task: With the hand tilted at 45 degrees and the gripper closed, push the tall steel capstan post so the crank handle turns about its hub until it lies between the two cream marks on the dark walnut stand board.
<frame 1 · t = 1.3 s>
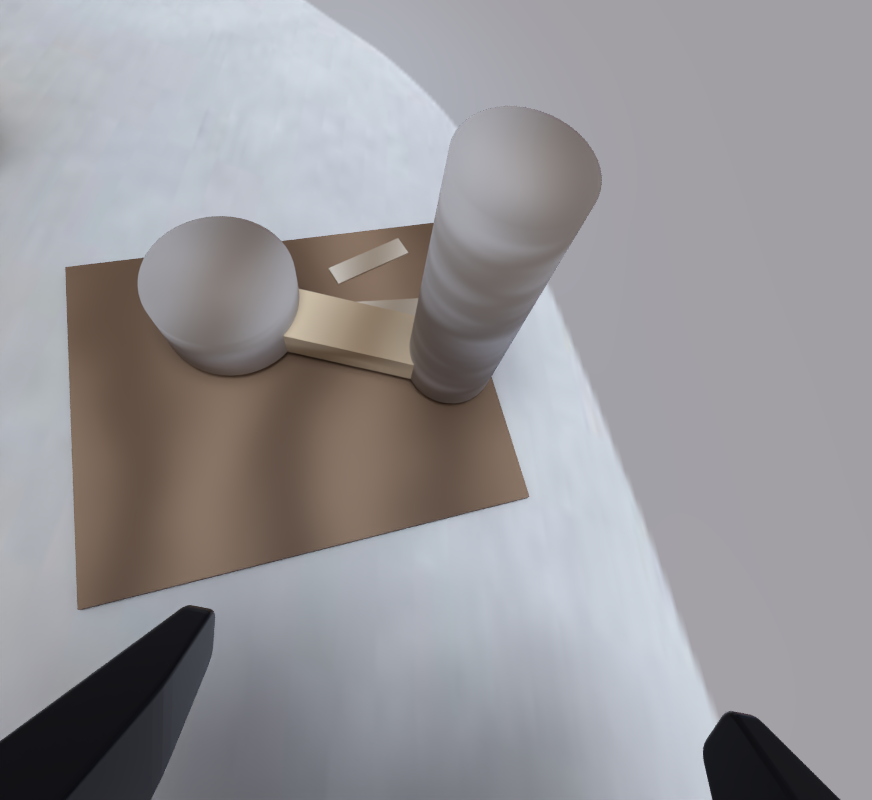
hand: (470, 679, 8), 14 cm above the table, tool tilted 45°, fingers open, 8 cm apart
stand board: (294, 382, 24), on the table
crank handle: (325, 257, 18), point 7 cm above the table, hinge at 0.0°
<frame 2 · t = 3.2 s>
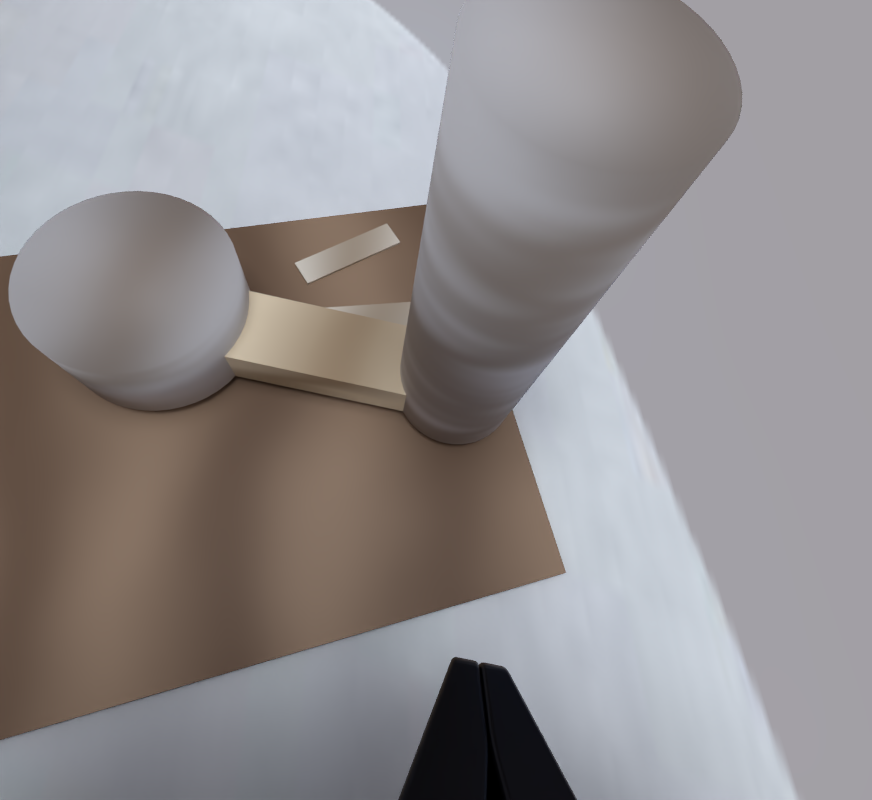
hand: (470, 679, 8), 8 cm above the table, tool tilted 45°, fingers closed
stand board: (245, 417, 17), on the table
crank handle: (268, 244, 12), point 7 cm above the table, hinge at 0.0°
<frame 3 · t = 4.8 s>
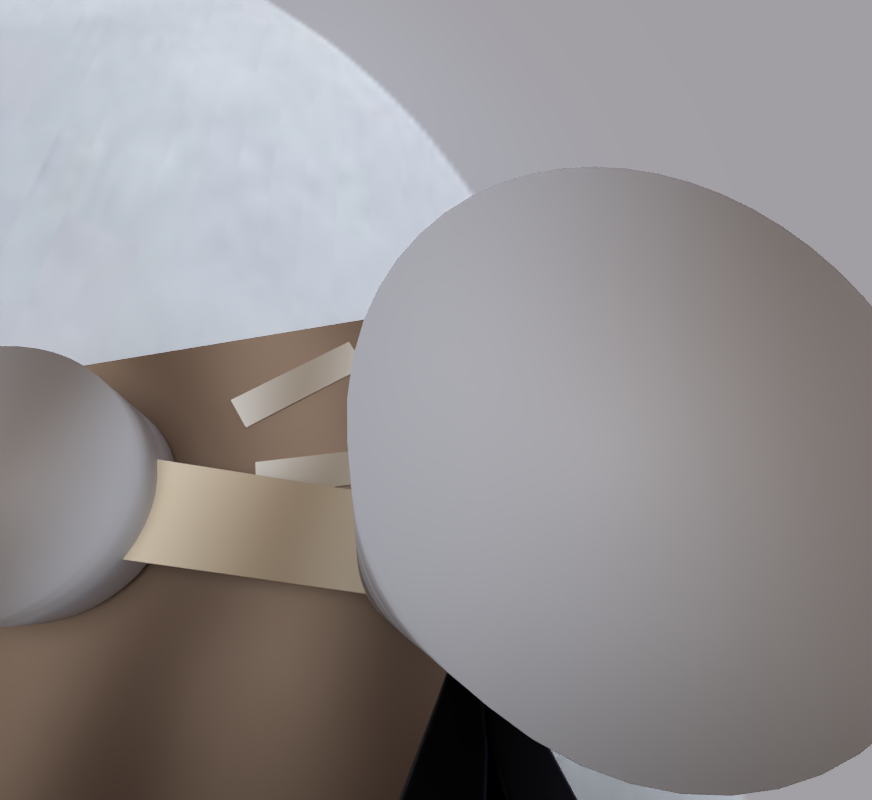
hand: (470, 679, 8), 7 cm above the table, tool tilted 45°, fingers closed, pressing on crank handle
stand board: (158, 617, 14), on the table
crank handle: (142, 479, 8), point 7 cm above the table, hinge at 2.6°, touching gripper
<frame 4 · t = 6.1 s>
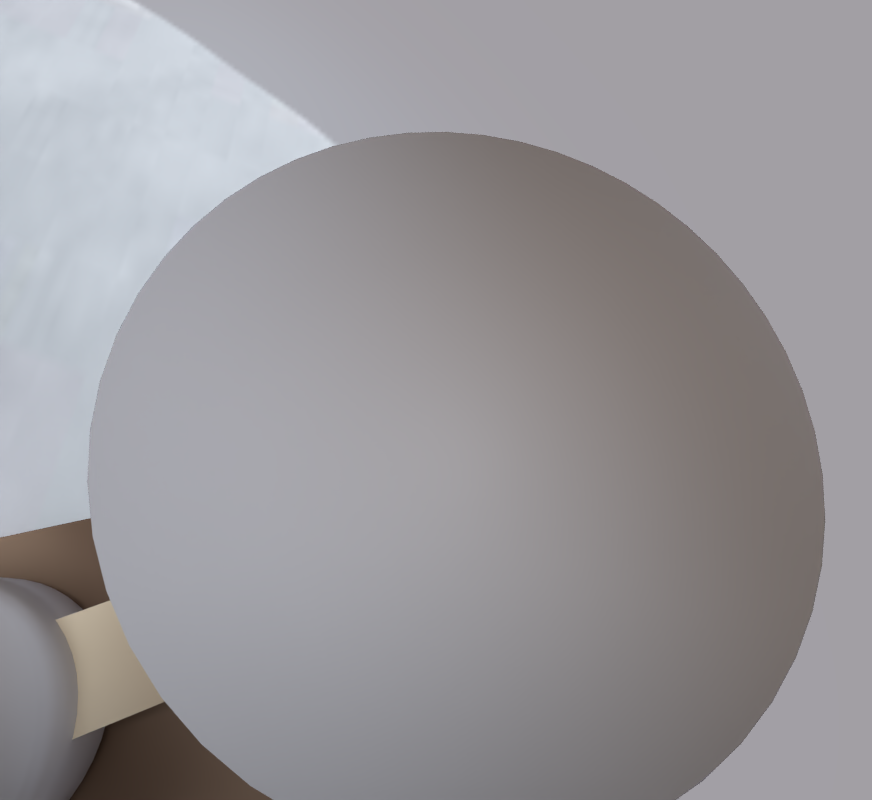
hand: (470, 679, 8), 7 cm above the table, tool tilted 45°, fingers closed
crank handle: (27, 672, 7), point 7 cm above the table, hinge at 31.5°, touching gripper
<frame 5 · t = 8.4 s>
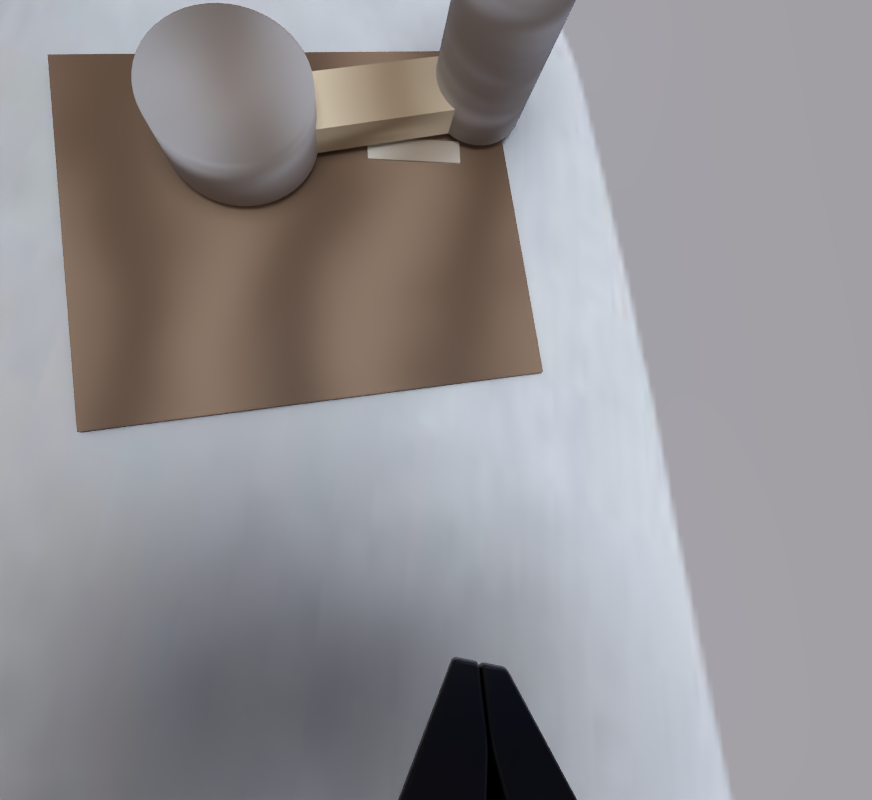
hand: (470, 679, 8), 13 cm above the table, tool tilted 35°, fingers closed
stand board: (305, 222, 22), on the table
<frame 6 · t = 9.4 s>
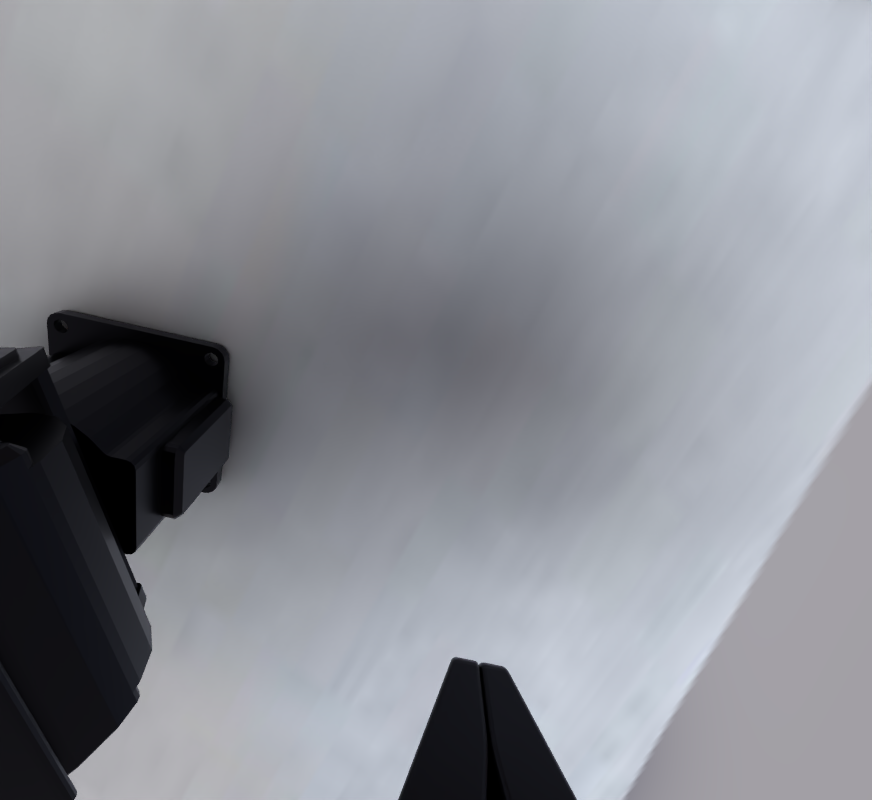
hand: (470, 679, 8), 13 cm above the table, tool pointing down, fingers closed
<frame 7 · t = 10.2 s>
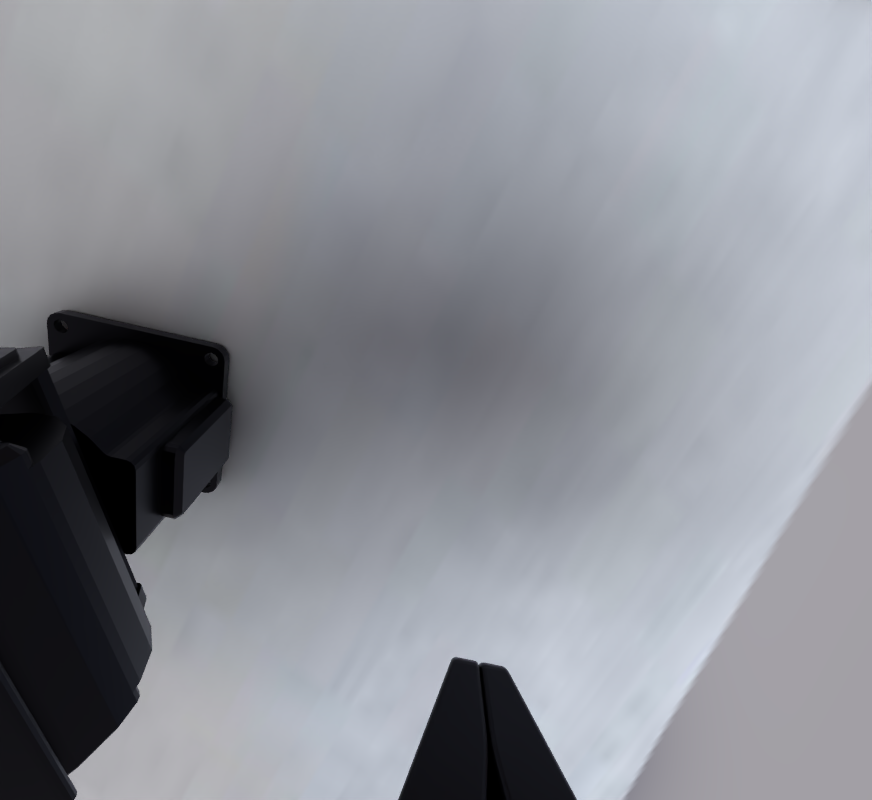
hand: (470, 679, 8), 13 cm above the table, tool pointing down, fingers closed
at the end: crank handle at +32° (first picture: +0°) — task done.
